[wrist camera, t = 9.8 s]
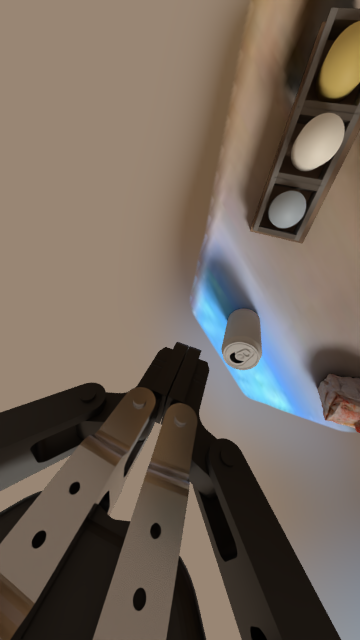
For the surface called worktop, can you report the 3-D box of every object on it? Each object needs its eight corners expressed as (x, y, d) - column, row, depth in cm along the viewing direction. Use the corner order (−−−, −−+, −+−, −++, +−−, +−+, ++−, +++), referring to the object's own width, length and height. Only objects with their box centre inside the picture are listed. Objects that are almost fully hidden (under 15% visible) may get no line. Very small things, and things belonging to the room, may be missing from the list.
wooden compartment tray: (317, 35, 21) (331, -2, 18) (398, 40, 20) (433, 1, 16) (250, 229, 33) (249, 233, 29) (299, 241, 31) (306, 246, 27)
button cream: (332, 114, 21) (343, 101, 18) (335, 159, 22) (345, 153, 20) (288, 137, 23) (292, 129, 20) (293, 178, 24) (298, 175, 22)
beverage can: (222, 317, 42) (212, 352, 32) (246, 300, 39) (244, 333, 29) (240, 337, 43) (237, 377, 34) (266, 323, 40) (271, 362, 30)
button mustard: (364, 31, 19) (381, 4, 16) (364, 87, 21) (381, 70, 18) (313, 64, 21) (321, 44, 18) (317, 113, 22) (325, 101, 20)
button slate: (298, 186, 26) (303, 184, 23) (302, 218, 28) (308, 220, 25) (265, 200, 28) (266, 200, 25) (270, 230, 29) (272, 233, 27)
